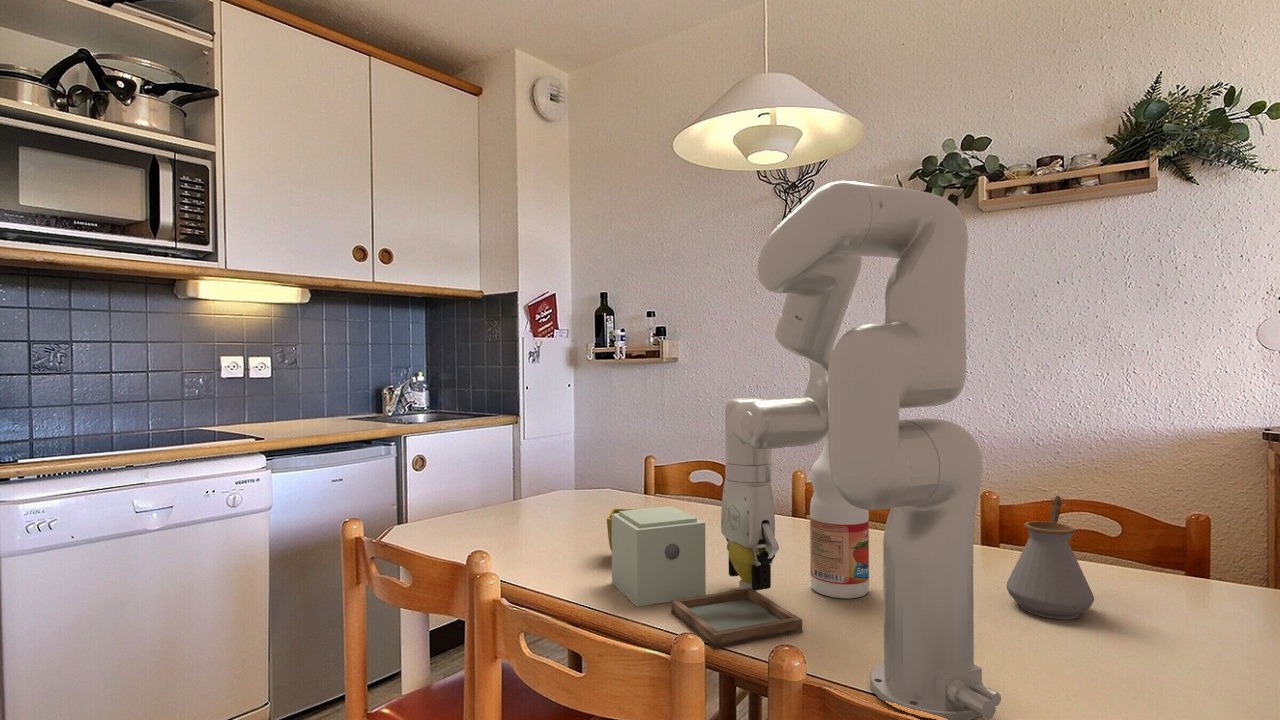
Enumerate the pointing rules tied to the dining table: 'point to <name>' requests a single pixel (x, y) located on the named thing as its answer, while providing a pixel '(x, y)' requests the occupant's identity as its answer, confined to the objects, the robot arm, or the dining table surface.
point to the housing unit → (658, 555)
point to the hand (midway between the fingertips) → (749, 580)
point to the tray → (735, 617)
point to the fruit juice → (836, 537)
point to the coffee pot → (1050, 572)
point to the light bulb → (743, 563)
